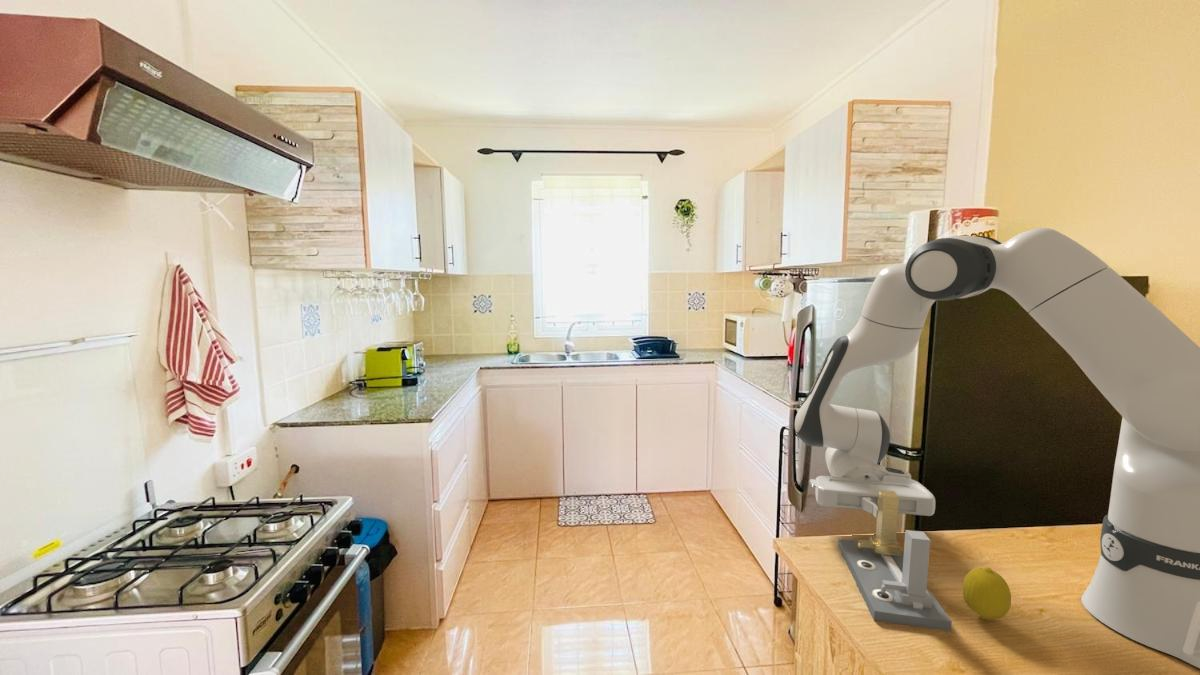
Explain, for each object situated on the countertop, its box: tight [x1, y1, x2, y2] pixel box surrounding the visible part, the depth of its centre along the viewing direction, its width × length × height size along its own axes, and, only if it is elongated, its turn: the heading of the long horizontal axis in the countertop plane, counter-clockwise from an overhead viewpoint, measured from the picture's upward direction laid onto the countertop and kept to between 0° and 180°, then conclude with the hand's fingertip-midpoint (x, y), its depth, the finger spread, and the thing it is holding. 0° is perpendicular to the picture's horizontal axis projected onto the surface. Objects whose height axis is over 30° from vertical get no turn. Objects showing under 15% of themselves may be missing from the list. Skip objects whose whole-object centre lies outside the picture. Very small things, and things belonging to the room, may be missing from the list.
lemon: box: [962, 567, 1012, 620], centre depth 69 cm, size 6×6×8 cm
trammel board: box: [838, 529, 953, 632], centre depth 77 cm, size 10×20×12 cm, turn 167°
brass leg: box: [858, 490, 902, 556], centre depth 83 cm, size 6×3×11 cm, turn 77°
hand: (885, 514), depth 84 cm, fingers closed, pressing on brass leg
